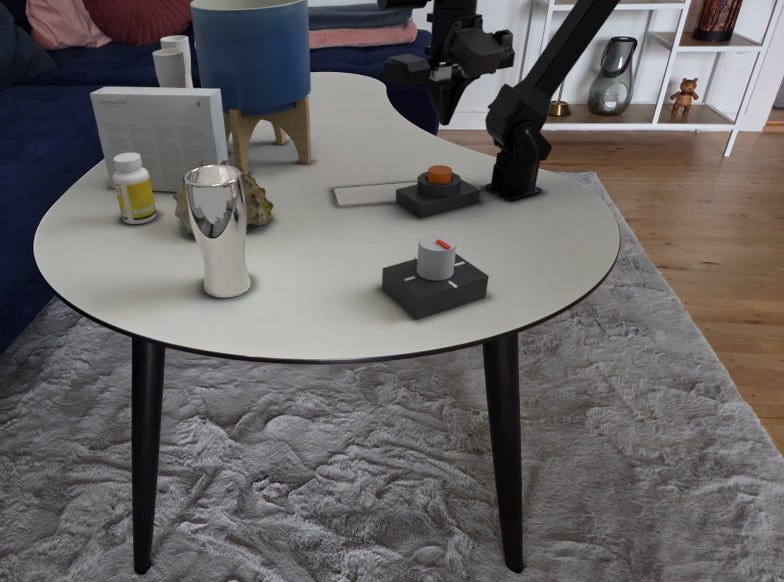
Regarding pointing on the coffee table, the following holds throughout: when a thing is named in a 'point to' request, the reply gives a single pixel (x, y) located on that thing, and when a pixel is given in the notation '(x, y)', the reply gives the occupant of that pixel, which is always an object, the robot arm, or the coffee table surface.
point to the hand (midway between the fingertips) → (444, 124)
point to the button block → (437, 196)
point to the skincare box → (161, 130)
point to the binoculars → (173, 63)
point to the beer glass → (219, 227)
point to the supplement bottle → (133, 189)
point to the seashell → (254, 198)
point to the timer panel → (433, 287)
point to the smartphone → (368, 194)
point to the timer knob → (436, 256)
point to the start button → (439, 174)
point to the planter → (257, 68)
